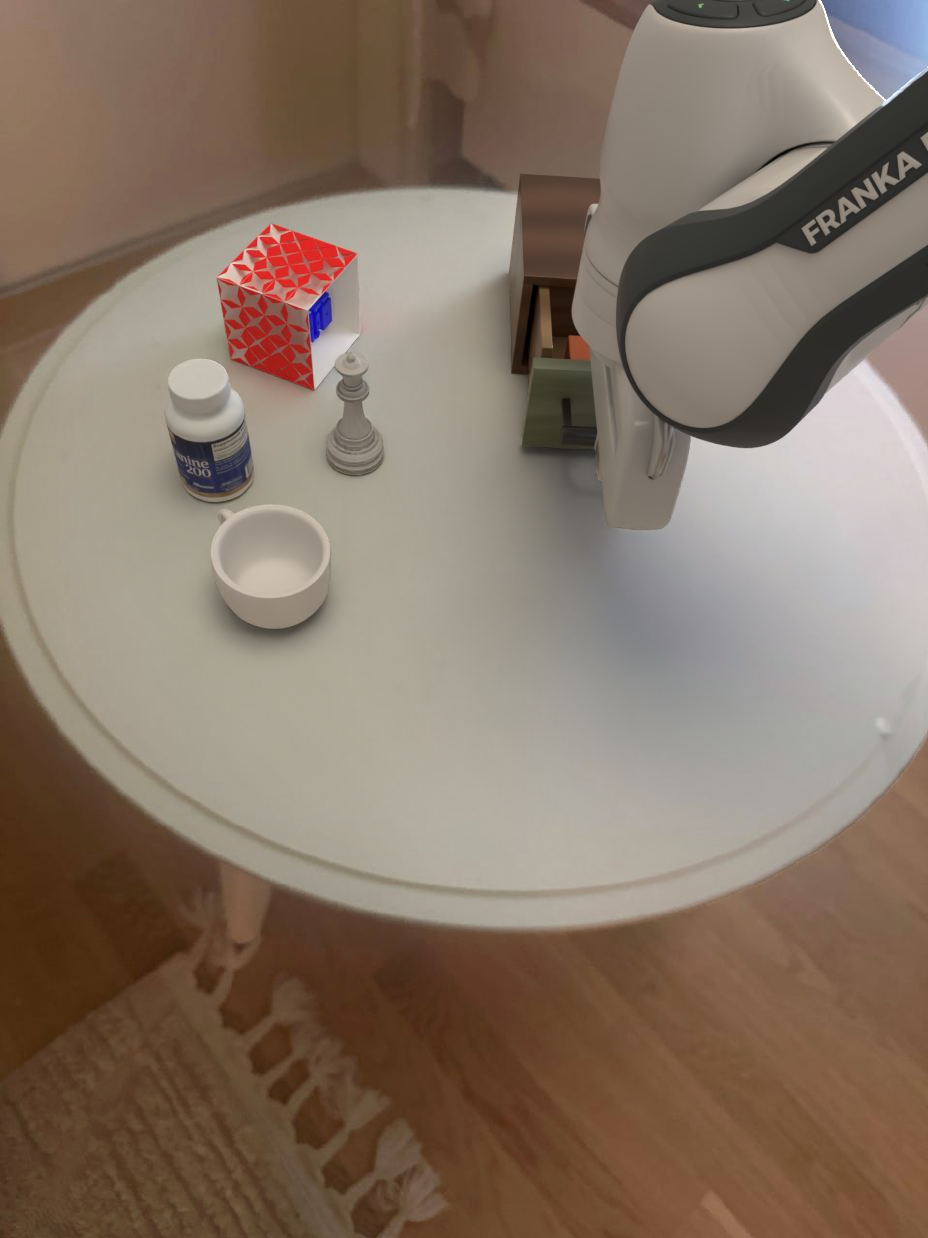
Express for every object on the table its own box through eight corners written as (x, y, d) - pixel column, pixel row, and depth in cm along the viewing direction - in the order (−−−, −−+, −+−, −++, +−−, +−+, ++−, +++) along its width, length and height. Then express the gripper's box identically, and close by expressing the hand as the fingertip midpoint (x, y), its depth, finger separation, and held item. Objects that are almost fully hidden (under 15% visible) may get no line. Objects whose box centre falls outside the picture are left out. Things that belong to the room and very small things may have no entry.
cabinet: (648, 380, 83) (675, 284, 75) (511, 373, 82) (523, 275, 74) (634, 279, 90) (657, 181, 82) (508, 271, 90) (520, 172, 82)
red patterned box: (280, 304, 85) (270, 222, 79) (360, 333, 84) (358, 252, 77) (229, 359, 81) (215, 277, 74) (313, 391, 79) (307, 310, 73)
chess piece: (336, 482, 74) (330, 380, 66) (319, 442, 76) (310, 339, 68) (391, 468, 75) (392, 367, 67) (373, 429, 77) (371, 326, 69)
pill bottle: (166, 476, 73) (139, 376, 65) (223, 440, 76) (203, 339, 68) (213, 516, 71) (190, 418, 63) (269, 478, 74) (255, 379, 66)
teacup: (357, 604, 68) (355, 556, 63) (266, 665, 65) (257, 619, 60) (271, 518, 72) (263, 467, 67) (181, 572, 68) (166, 522, 64)
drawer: (660, 493, 74) (685, 418, 68) (523, 486, 74) (535, 409, 67) (640, 345, 84) (661, 267, 77) (518, 339, 83) (529, 259, 77)
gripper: (735, 431, 50) (670, 591, 61) (686, 195, 61) (639, 367, 73) (612, 424, 49) (569, 587, 61) (586, 189, 61) (554, 362, 72)
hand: (607, 466), depth 67 cm, fingers closed
